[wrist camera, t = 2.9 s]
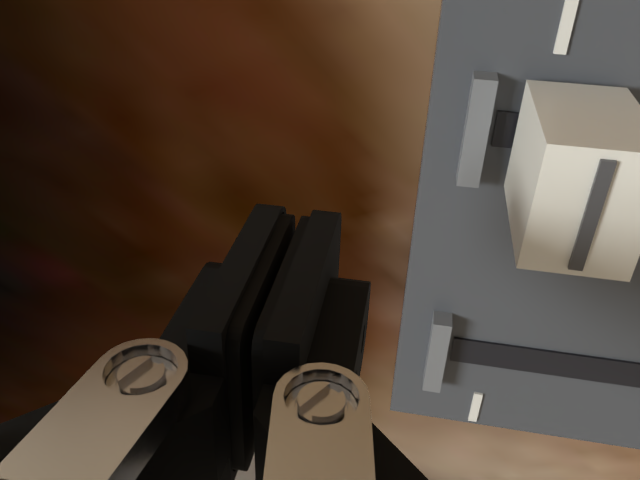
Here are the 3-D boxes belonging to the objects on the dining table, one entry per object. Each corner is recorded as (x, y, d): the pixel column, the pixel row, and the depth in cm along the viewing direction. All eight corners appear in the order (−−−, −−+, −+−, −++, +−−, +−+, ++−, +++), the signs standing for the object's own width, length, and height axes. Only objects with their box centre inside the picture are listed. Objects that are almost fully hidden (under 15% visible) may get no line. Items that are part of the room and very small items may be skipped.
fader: (526, 79, 15) (547, 146, 12) (627, 87, 15) (679, 158, 12) (504, 185, 17) (516, 270, 14) (594, 195, 17) (630, 284, 13)
